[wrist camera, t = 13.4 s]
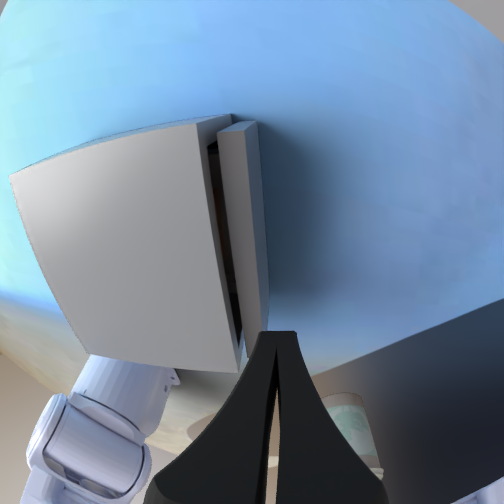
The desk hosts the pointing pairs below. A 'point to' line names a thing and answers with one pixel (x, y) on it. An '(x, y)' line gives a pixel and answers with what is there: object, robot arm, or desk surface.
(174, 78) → the desk surface
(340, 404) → the coffee cup
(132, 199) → the player housing
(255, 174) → the tray
